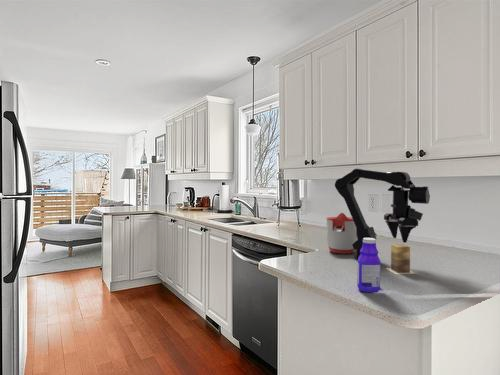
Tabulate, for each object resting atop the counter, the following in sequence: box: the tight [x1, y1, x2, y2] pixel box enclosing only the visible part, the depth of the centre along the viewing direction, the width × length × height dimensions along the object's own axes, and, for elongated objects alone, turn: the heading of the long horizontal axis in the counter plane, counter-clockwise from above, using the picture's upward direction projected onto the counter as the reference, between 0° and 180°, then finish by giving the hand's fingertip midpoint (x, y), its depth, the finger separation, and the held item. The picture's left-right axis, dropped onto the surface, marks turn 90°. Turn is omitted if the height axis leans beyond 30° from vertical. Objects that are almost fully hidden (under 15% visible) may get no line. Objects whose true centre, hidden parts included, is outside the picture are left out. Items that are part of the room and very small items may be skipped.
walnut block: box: [390, 256, 411, 273], centre depth 129 cm, size 5×5×5 cm
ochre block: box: [390, 243, 411, 261], centre depth 129 cm, size 5×5×5 cm
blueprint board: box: [385, 267, 416, 275], centre depth 127 cm, size 16×18×1 cm
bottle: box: [356, 238, 382, 293], centre depth 110 cm, size 7×6×17 cm
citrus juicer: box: [325, 212, 358, 255], centre depth 167 cm, size 16×17×20 cm
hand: (399, 240), depth 136 cm, fingers open, 9 cm apart
